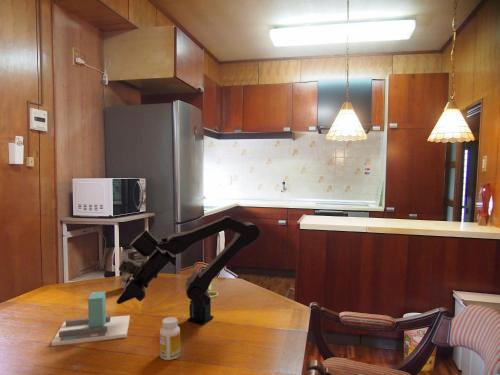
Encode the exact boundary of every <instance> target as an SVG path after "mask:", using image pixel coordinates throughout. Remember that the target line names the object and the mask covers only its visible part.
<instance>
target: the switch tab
mask: <svg viewBox="0 0 500 375" xmlns="http://www.w3.org/2000/svg"><path fill="white" fill-rule="evenodd" d="M87 305H88V306H87V307H88V310H87V311H88V316H87V318H88V321H89V328H93V327H102V326H105V323H106V316H107V315H106V314H107V312H106V311H107V310H106V307H107V306H106V305H107V304H106V291H105V290H103V291H94V292H93V291H92V292H90V295H89V297H88V298H87Z"/></svg>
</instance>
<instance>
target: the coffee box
mask: <svg viewBox="0 0 500 375" xmlns="http://www.w3.org/2000/svg"><path fill="white" fill-rule="evenodd" d="M123 258H128V259H130V260H133V261H136V262H138V263H140V264H141V263H142V262H143V261H147V260H148V259H149V256H144V257H143V256H142V255H141V254H139V253H138V252H137V251H136V250H135V249H134V248H129V249H123V250H121V261H122V260H123ZM132 275H133V274H131V275H130V274H129V273H127V272H124V271H123V272H122V271H121V288H122V289H123V290H124V289H125V286H126V285H125V284H126V281H127V277H128V278H129V279H130V278H131V277H132ZM143 287H144V286H143ZM144 288H145V287H144Z"/></svg>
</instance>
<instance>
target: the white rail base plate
mask: <svg viewBox="0 0 500 375" xmlns="http://www.w3.org/2000/svg"><path fill="white" fill-rule="evenodd" d="M130 319H131V315H118V316H111V315H106V323H105V326H102V327H93V328H89V321H88V317H86V318H85V317H83V318H76V319H67V320H65V321H63V323H62V324H61V327H60V328H59V330H58V331H57V333H56V334H55V336H54V338H53V339H52V341H51V347H53V346H54V347H55V346H62V345H70V344H71V345H72V344H73V345H74V344H80V343H81V344H82V343H89V342H98V341H105V340H106V341H107V340H116V339H123V338H127V337H128V336H127V335H128V329H129V325H130Z"/></svg>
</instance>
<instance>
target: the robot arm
mask: <svg viewBox="0 0 500 375" xmlns="http://www.w3.org/2000/svg"><path fill="white" fill-rule="evenodd" d="M227 230H231V231H232V232H234V233H235V234H234V236H233V237H232V240H231V241H230V242H229V243H228V244H227V245H226V246H225V247H224V248H223V249H222V250H221V251H220V252H219V253H218V254H217V256H216V257H214V258H213V259H212V261H210V263H209V264H207V266H206V267H205V268H204V269H203V270H201V271H199V272H198V271H197V270H194V271H193V272H192V274H191V275H190V276H189V277H187V278H186V282H185V284H184V285H185V286H184V288H185V293H186V296H187V298H188V299H189V300H190V303H189V309H188V310H189V317H188V318H187V321H188V322H190V323H191V322H192V323H195V324H199V325H205V324H206V323H207V322H209V321H210V320H212V319H214V315H211V312H212V311H211V310H212V306H211V303H212V302H211V301H212V298H210V294H208V287H209V285H210V284H212V282H213V280H214V279H215V278H216V277H217V276H218V274H220V273H221V271H222V270H224V268H225V267H227V265H228V264H229V263H230V262H231V261H232V259H233V258H235V257H236V256H237V254H239V252H240V251H241V250H243V249H245V248H247V247H249V246H251V245H252V244H253V243H254V242H256V241H257V240H258V239H259V237H260V235H261V234H260V228H259V227H258V226H257V225H255V224H254V223H252V222H250V221H246V222H242V221H241V220H237V219H235V218H233V217H231V216H229V215H223V216H222V217H221V218H219V219H216V220H213V221H210V222H209V223H206V224H204V225H201V226H198V227H197V228H194V229H192V230H187V231H181V232H176V233H172V234H170V235H168V236H167V237H164V238H158V239H156V237H154V236H153V235H152V234H151V233H150V231H149V230H147V229H145V230H144V231H143V232H141V233H140V234H139V235H136V237H135V238H134V239H133V240H132V241H131V243H130V244H129V246H130V247H131V248H132V249H135V250H136V251H137V252H138V253H139V254H141V255H142V256H143V257H144V256H148V260H147V261H143V262H142V263H141V264H140V263H138V262H136V261H133V260H130V259H128V258H123V260H122V259H121V263H120V265H119V267H118V270H119V271H120V272H121V273H122V272H123V271H124V272H127V273H129V274H130V275H131V274H133V275H132V277H131V278H130V279H129V278H128V277H127V281H126V284H125V285H126V286H125V289H124V288H123V291H122V292H121V294H120V295H119V297H118V298H117V299H116V304H117V305H121V304H123V303H126V302H127V301H130V300H133V299H136V300H137V301H139V302H142V301H143V300H144V299H145V298H146V294H147V293H146V289H147V288H148V287H149V284H150V283H151V282H152V281H153V280H154V279H157V278H158V277H159V274H160V272H162V271H163V270H164V269H165V268H166V267H167V266H168V265H169V264H171V265H173V266H176V265H177V262H176V260H177V255H179V254H181V253H183V252H185V251H186V250H188V249H189V248H190V247H191V246H192V245H194V244H196V243H197V242H200V241H201V240H204V239H206V238H210V237H211V236H215V235H216V234H219V233H221V232H223V231H227ZM143 286H144V287H143Z"/></svg>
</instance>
